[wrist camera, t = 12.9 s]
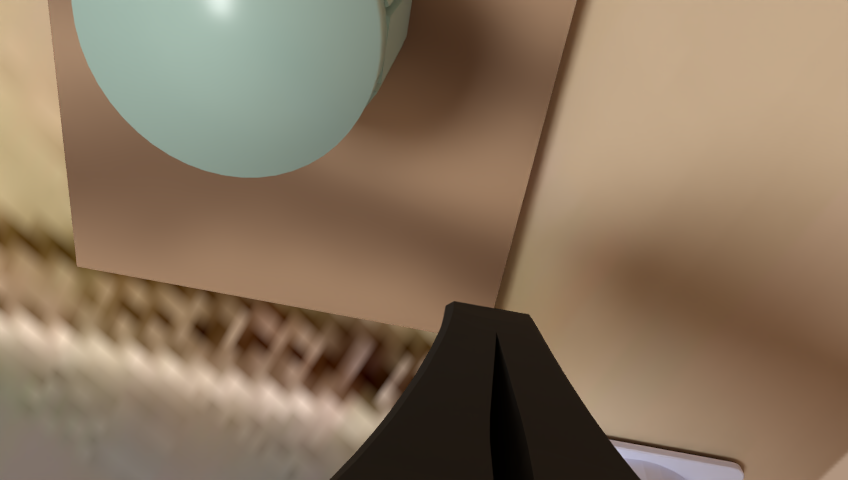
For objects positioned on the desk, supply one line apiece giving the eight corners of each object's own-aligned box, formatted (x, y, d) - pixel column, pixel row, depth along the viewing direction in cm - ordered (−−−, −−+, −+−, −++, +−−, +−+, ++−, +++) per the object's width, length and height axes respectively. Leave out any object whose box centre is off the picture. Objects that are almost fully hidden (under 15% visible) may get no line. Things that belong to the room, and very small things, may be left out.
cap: (394, 113, 18) (359, 200, 13) (200, 76, 18) (84, 149, 13) (428, -109, 15) (402, -112, 10) (200, -153, 15) (54, -181, 10)
